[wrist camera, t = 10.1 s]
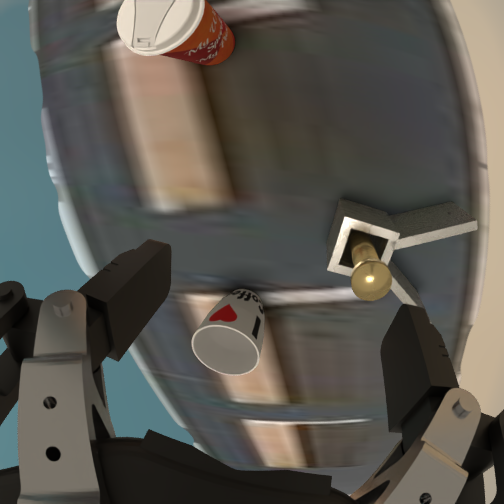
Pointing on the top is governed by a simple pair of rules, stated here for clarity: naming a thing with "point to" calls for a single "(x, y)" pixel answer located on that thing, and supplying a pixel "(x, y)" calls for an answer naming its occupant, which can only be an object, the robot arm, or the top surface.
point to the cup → (232, 334)
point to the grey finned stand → (393, 236)
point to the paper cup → (175, 30)
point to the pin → (367, 268)
